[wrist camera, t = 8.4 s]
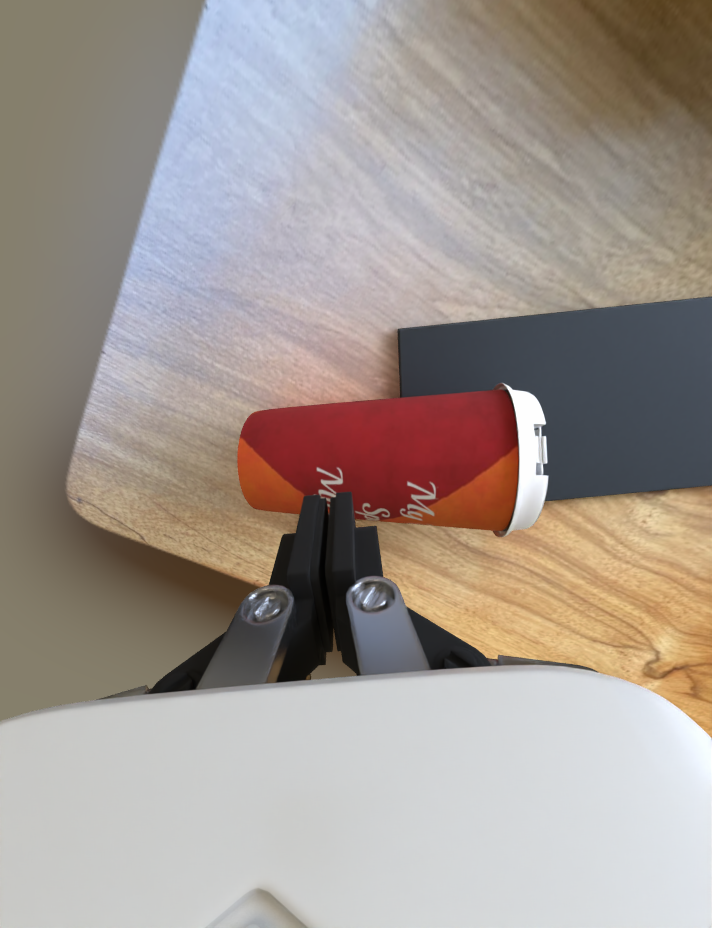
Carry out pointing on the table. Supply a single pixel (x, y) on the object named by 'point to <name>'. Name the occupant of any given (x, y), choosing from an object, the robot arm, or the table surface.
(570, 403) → the mat
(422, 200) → the table surface
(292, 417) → the paper cup
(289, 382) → the table surface
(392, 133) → the table surface
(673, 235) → the table surface
